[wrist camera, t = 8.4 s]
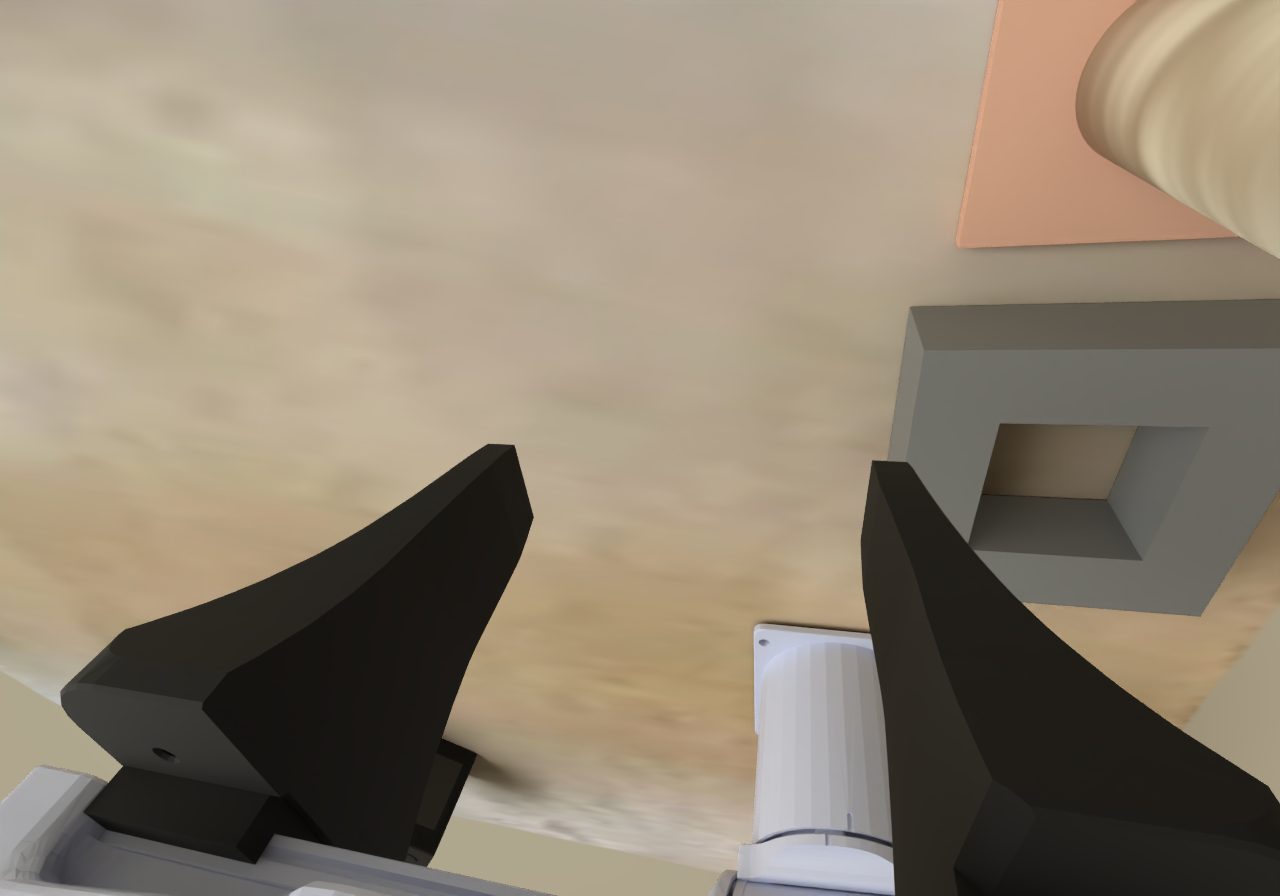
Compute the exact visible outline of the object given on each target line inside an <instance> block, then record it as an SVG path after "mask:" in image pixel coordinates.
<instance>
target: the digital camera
mask: <svg viewBox="0 0 1280 896" xmlns="http://www.w3.org/2000/svg"><path fill="white" fill-rule="evenodd" d="M476 756H477V754H476V753H473V752H471V751H469V750H467V749H465V748H462V747H460V746H458V745H455V744H453V743H451V742H448V741H446V740H444V739H441V741H440V744H439V747H438V750H437V753H436V756H435V759H434V763H433V766H432V769H431V772H430V776H429V779H428V782H427V785H426V788H425V792H424V795H423V798H422V801H421V805H420V809H419V812H418V816H417V820H416V823H415V827H414V831H413V834H412V838H411V842H410V845H409V849H408V853H407V856H406V860H405V863H410V864H414V865H419V866H423V867H427V866H428V864H429V863H430V861H431V860H432V858H433V856H434V854H435V852H436V850H437V848H438V845H439V843H440V841H441V838H442V836H443V834H444V831H445V829H446V826H447V824H448V822H449V819H450V817H451V815H452V813H453V810H454V808H455V806H456V803H457V801H458V799H459V796H460V794H461V792H462V789H463V787H464V784H465V782H466V780H467V777H468V775H469V773H470V770H471V768H472V765H473V763H474V761H475V758H476Z"/></svg>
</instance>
